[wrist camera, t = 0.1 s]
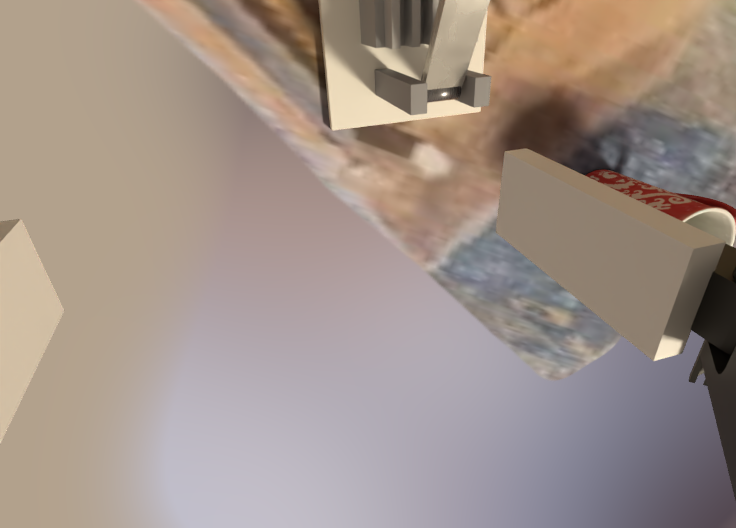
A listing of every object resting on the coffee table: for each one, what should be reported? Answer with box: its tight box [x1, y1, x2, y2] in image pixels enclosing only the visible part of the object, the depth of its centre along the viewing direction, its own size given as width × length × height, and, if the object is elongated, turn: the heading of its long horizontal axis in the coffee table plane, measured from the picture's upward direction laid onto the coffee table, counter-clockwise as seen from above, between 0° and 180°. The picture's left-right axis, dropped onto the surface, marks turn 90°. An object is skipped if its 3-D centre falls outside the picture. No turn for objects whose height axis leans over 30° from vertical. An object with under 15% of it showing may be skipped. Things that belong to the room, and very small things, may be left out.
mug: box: [585, 169, 736, 246], centre depth 47 cm, size 13×9×14 cm
